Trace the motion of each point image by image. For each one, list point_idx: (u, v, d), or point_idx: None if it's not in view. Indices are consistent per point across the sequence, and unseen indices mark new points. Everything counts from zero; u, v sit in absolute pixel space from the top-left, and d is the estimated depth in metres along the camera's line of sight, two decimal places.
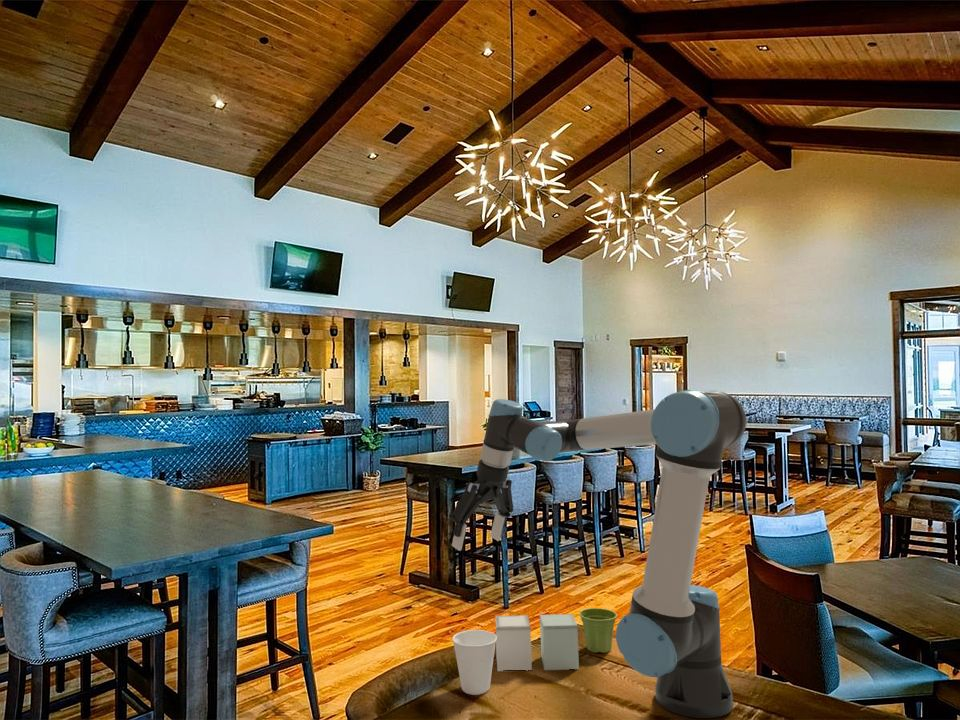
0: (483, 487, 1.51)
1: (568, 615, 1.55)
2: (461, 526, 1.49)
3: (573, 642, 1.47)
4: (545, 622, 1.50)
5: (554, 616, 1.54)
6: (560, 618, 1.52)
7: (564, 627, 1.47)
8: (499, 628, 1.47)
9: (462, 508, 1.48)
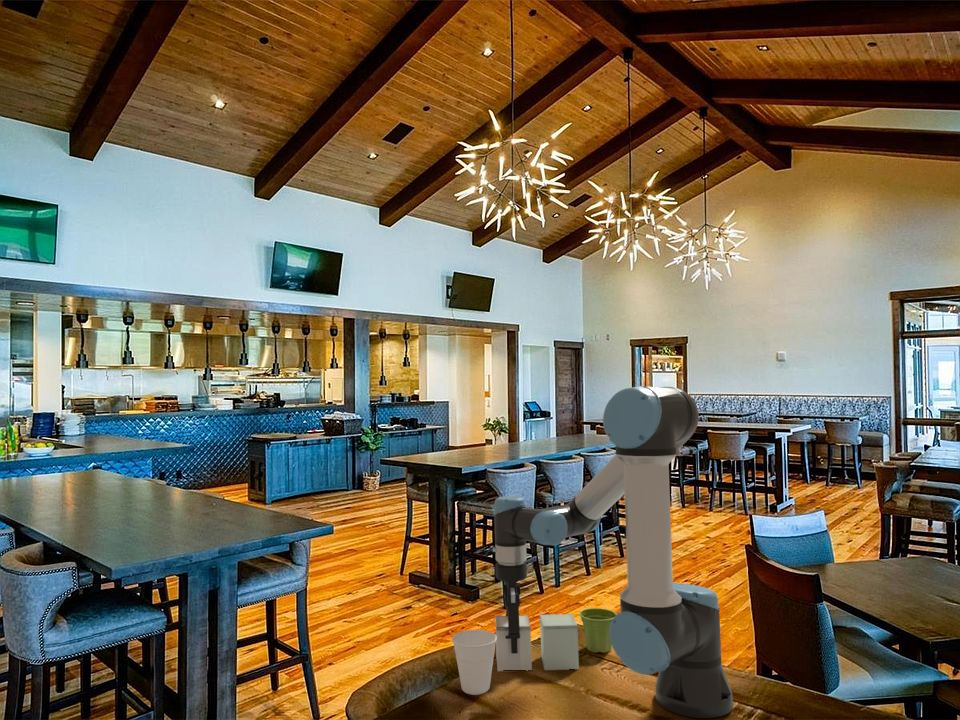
0: (516, 589, 1.49)
1: (568, 615, 1.55)
2: (517, 640, 1.46)
3: (573, 642, 1.47)
4: (545, 622, 1.50)
5: (554, 616, 1.54)
6: (560, 618, 1.52)
7: (564, 627, 1.47)
8: (499, 628, 1.47)
9: (517, 621, 1.45)
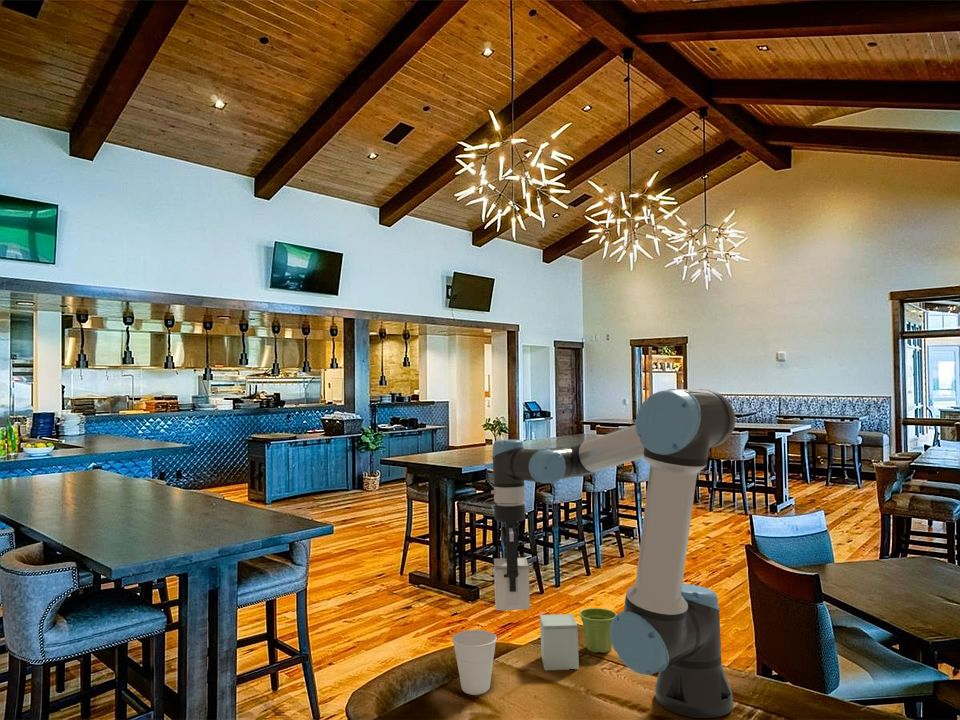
0: (515, 529, 1.50)
1: (568, 615, 1.55)
2: None
3: (573, 642, 1.47)
4: (545, 622, 1.50)
5: (554, 616, 1.54)
6: (560, 618, 1.52)
7: (564, 627, 1.47)
8: (497, 567, 1.48)
9: (515, 559, 1.46)
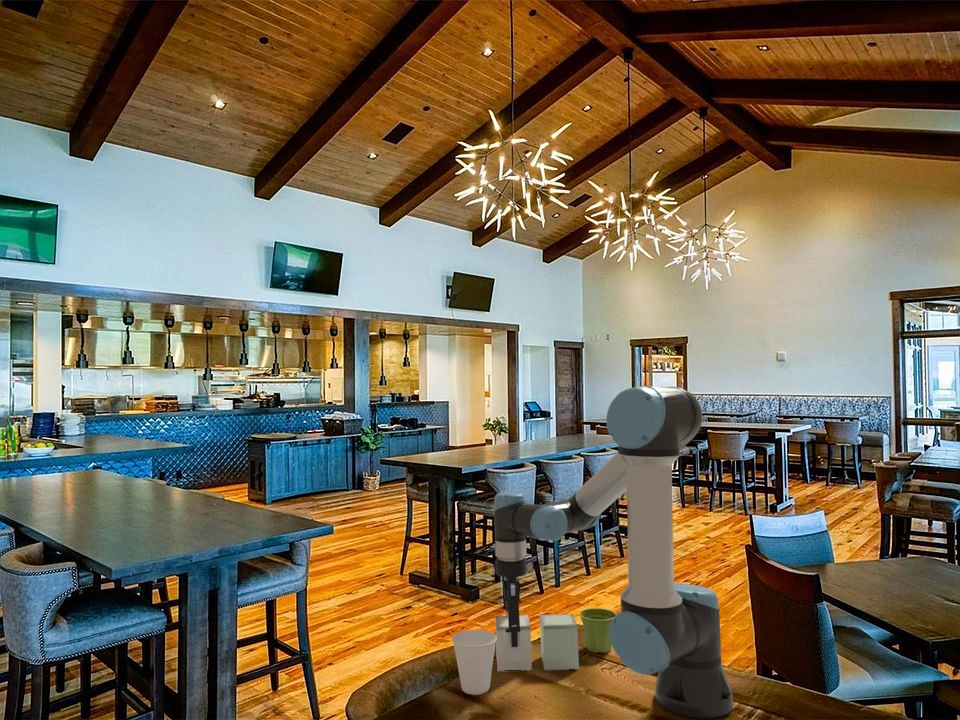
0: (516, 585, 1.49)
1: (568, 615, 1.55)
2: (517, 634, 1.44)
3: (573, 642, 1.47)
4: (545, 622, 1.50)
5: (554, 616, 1.54)
6: (560, 618, 1.52)
7: (564, 627, 1.47)
8: (499, 628, 1.47)
9: (517, 614, 1.43)
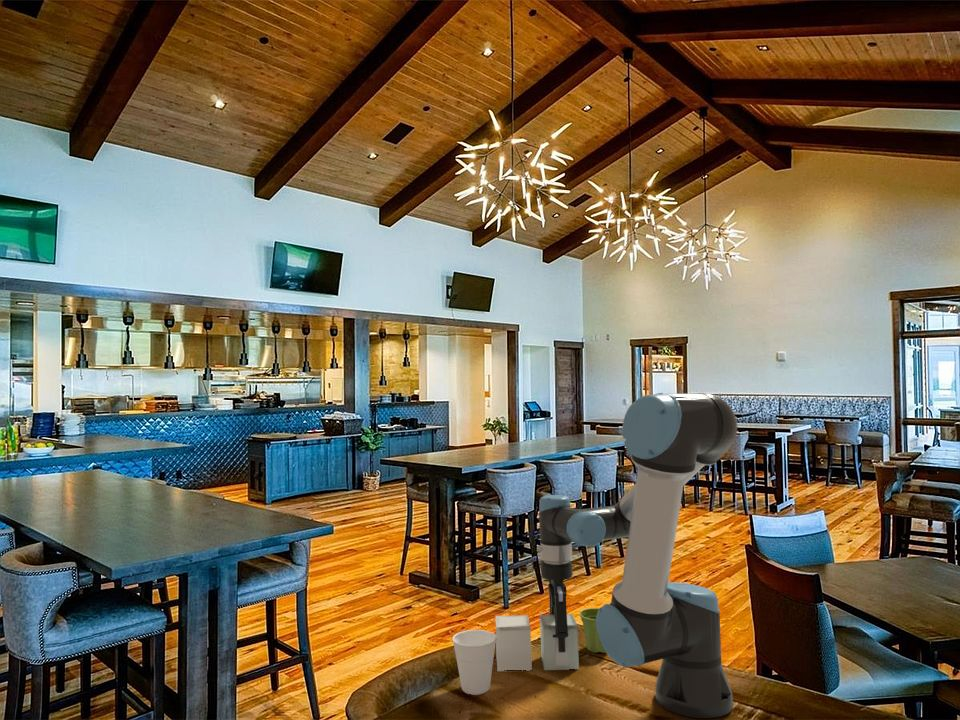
0: None
1: (568, 615, 1.55)
2: None
3: (573, 642, 1.47)
4: (545, 622, 1.50)
5: (554, 616, 1.54)
6: None
7: None
8: (499, 628, 1.47)
9: (565, 620, 1.45)
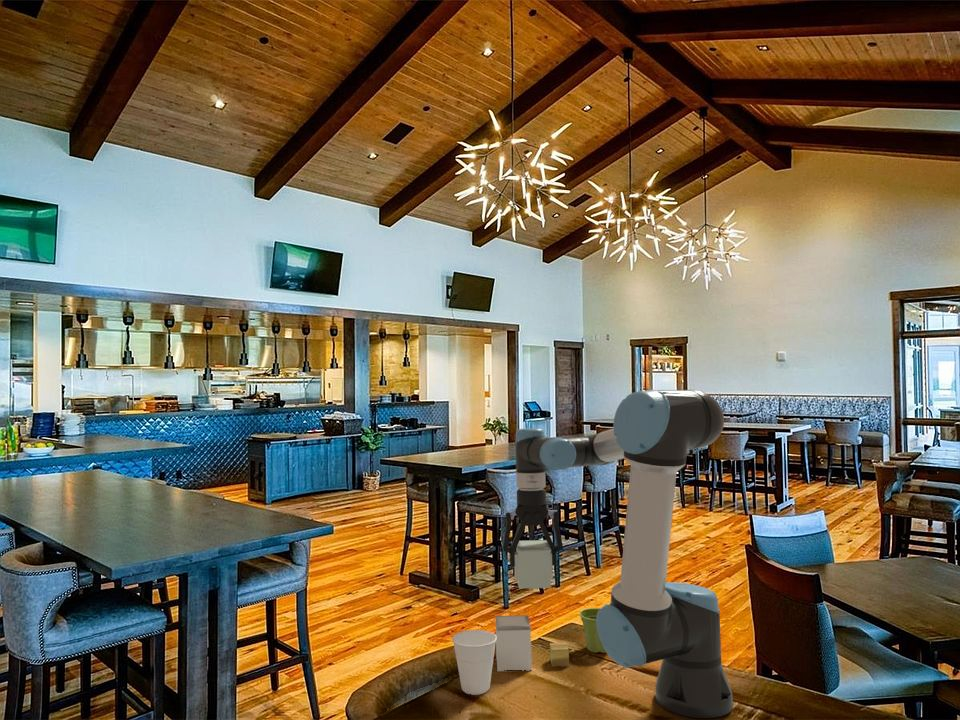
0: None
1: (520, 541, 1.64)
2: None
3: None
4: (539, 546, 1.58)
5: (521, 544, 1.61)
6: (529, 543, 1.62)
7: (547, 544, 1.62)
8: (499, 628, 1.47)
9: None
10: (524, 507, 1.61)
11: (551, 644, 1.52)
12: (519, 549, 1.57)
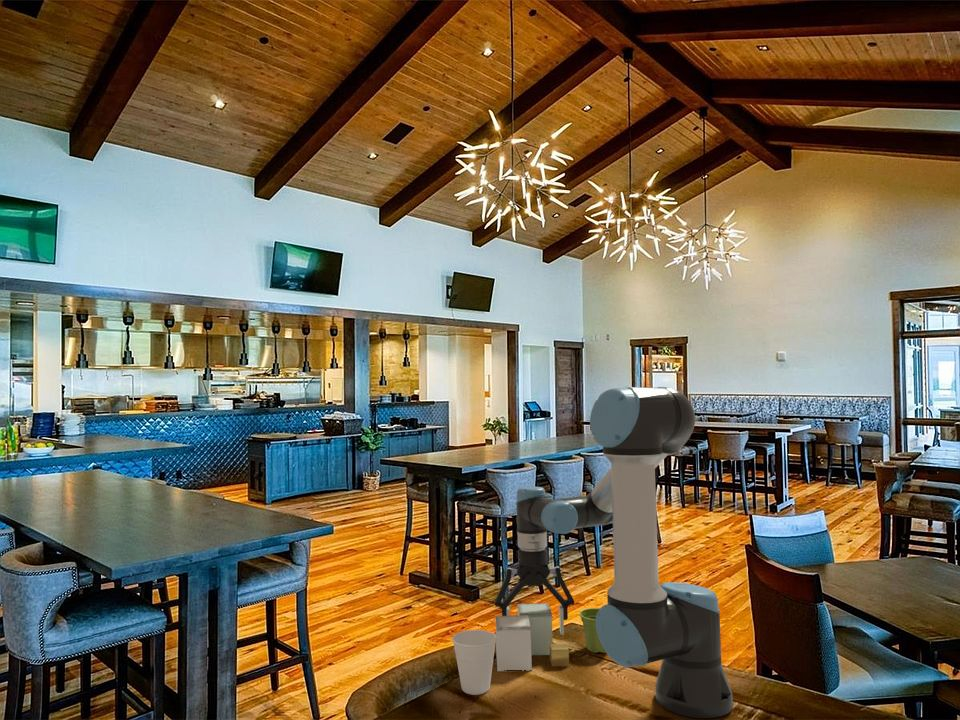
0: None
1: (521, 605, 1.63)
2: None
3: None
4: (541, 612, 1.57)
5: (523, 609, 1.60)
6: (531, 607, 1.61)
7: (549, 608, 1.61)
8: (499, 628, 1.47)
9: None
10: (527, 569, 1.60)
11: (551, 644, 1.52)
12: None
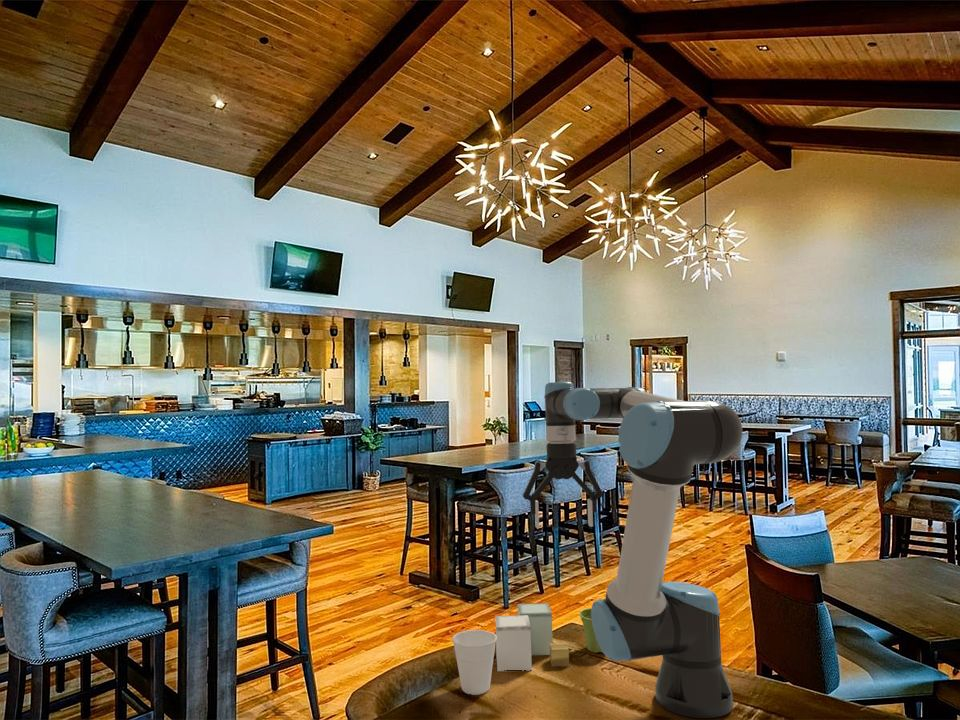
0: None
1: (521, 605, 1.63)
2: None
3: None
4: (541, 612, 1.57)
5: (523, 609, 1.60)
6: (531, 607, 1.61)
7: (549, 608, 1.61)
8: (499, 628, 1.47)
9: None
10: (555, 462, 1.60)
11: (551, 644, 1.52)
12: None
